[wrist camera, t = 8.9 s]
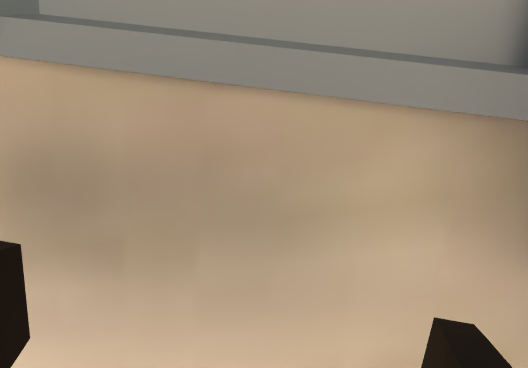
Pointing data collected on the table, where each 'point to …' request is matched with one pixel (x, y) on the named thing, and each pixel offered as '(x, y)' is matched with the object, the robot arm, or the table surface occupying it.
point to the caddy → (296, 46)
